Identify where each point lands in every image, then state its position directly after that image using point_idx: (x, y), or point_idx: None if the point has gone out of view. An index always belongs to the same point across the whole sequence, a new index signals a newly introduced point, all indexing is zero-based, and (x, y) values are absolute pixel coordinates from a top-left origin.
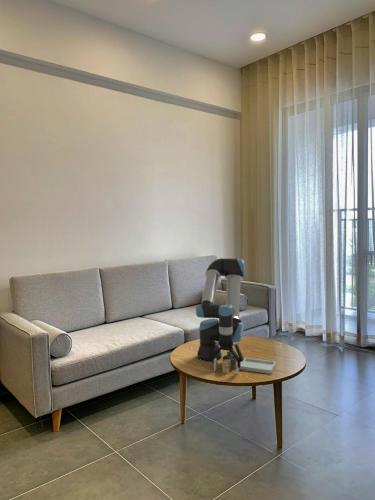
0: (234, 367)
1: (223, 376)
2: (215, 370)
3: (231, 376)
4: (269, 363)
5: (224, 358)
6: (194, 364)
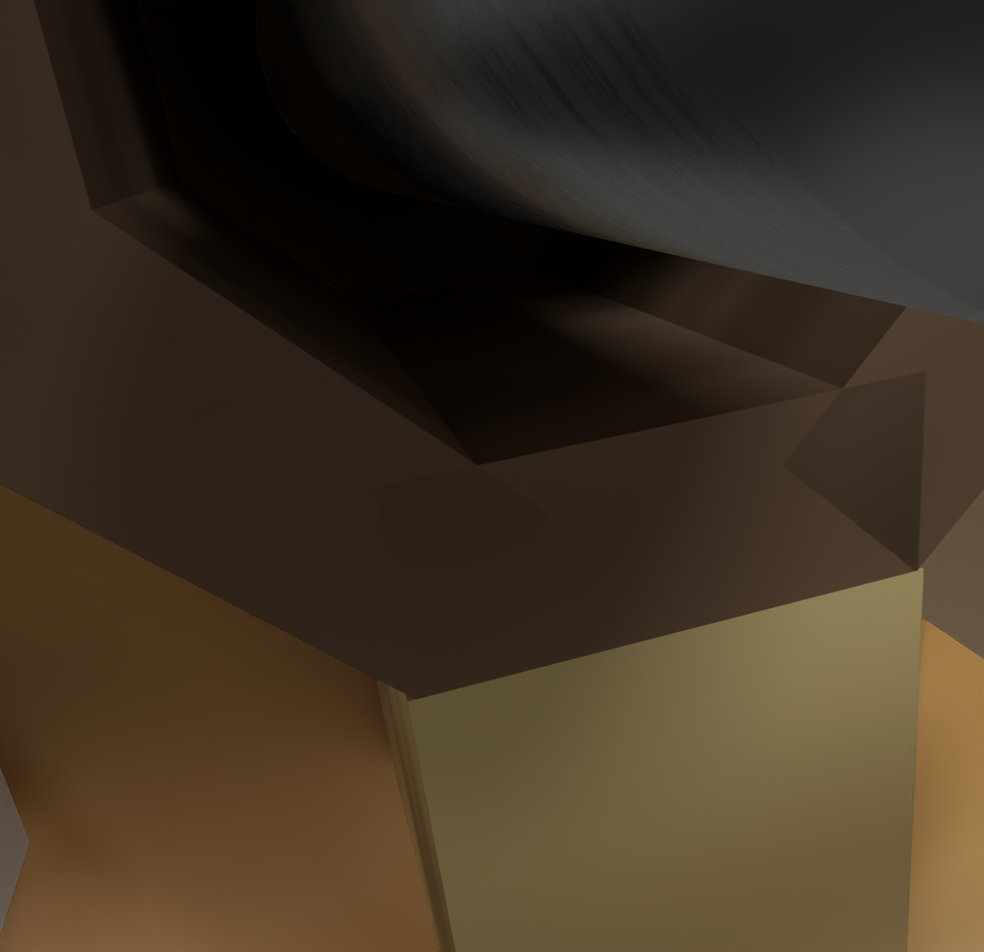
0: None
1: None
2: (14, 808)
3: None
4: None
5: (251, 575)
6: None
